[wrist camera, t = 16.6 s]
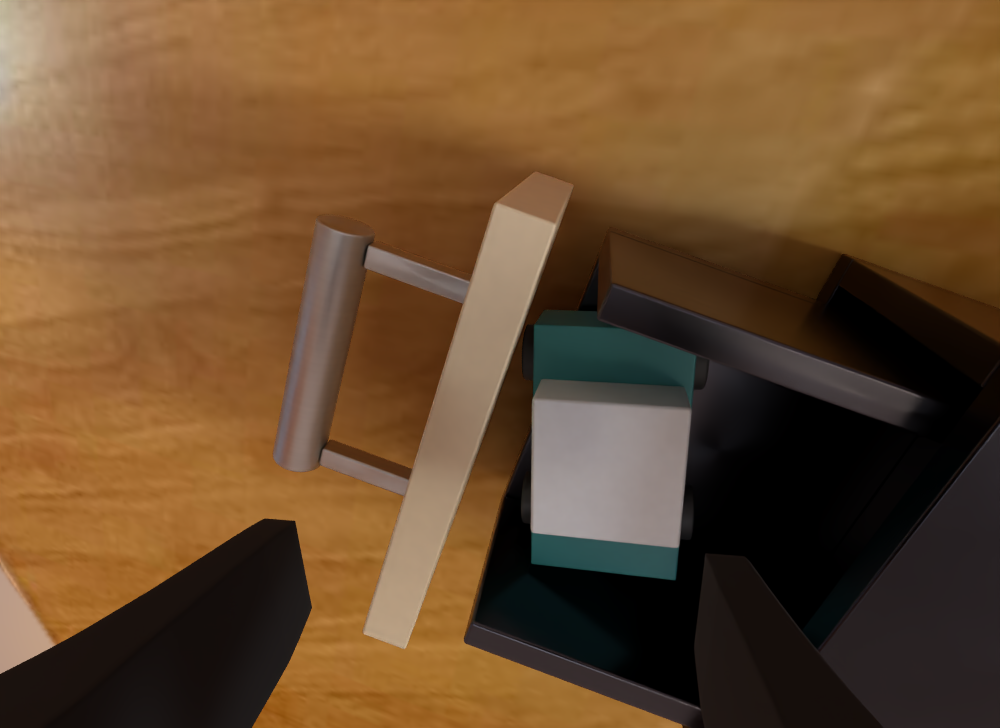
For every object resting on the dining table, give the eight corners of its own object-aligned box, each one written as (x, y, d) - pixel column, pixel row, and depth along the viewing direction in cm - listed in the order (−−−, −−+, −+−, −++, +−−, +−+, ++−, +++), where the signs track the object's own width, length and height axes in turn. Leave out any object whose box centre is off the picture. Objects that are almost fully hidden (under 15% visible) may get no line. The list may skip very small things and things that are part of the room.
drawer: (319, 443, 22) (205, 575, 15) (392, 120, 17) (269, 121, 11) (787, 616, 21) (863, 822, 15) (993, 333, 17) (1226, 462, 10)
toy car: (530, 305, 17) (503, 339, 14) (705, 311, 17) (729, 348, 13) (528, 517, 19) (504, 598, 16) (684, 533, 19) (700, 623, 15)
